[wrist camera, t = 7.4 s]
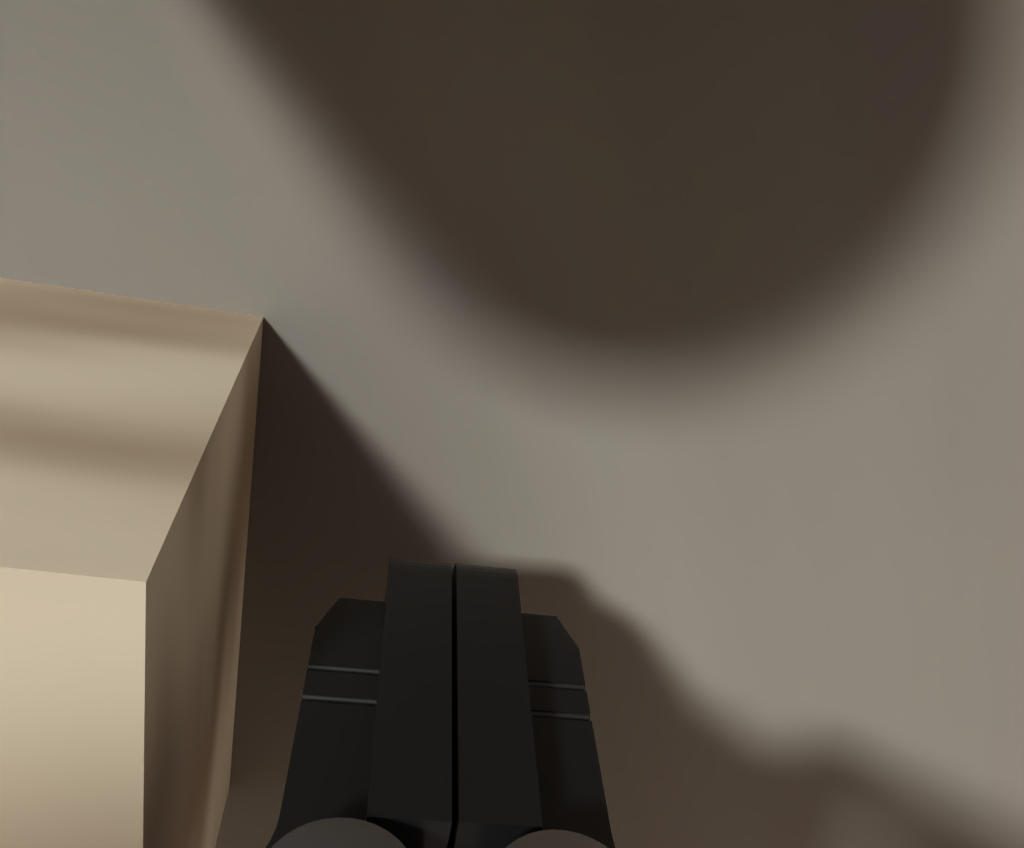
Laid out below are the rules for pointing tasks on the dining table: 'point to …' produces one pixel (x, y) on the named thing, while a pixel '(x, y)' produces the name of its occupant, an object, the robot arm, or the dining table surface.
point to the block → (120, 564)
